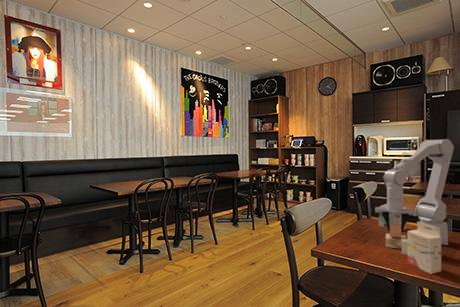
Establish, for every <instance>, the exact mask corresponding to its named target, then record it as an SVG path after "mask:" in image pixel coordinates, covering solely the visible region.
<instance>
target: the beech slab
mask: <svg viewBox="0 0 460 307" xmlns="http://www.w3.org/2000/svg"><path fill="white" fill-rule="evenodd" d="M402 238H405V239H407V238H406V235H402V234H401V238H400V237H392V236H390V233H385V247H386V248H393V249H399V250H402Z"/></svg>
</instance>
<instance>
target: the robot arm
mask: <svg viewBox="0 0 460 307" xmlns="http://www.w3.org/2000/svg"><path fill="white" fill-rule="evenodd" d="M454 148H455V146H454V145H453V143H452V141H451V140H450V139H448V138H444V139H425V140H423V141H422V142H421V143H420V144H419V147H418V148H417V149H416V151H415V152H414V153H413V154H412V155H411V156H410V157H409V158H406V157H405V158H402V159H401V160H400V162H399V163H398V164H396V165H395V166H393V168H391V169H387V171H385V173H384V175H383V176H382V178H383V181H384V182H385V186H386V205H387V207H379V206H375V208H374V210H375V211H374V212H375V213H378V214H379V212H381V213H382V215H383V217H384V219H385V222H386V224H387V228H386V229H387V231H388V232H390V224H389V213H392V214H401V234H403V233H404V231H405V230H404V226H405V224H406V222H407V223H408V220H409V218H410V216H414V217H418V219H419V222H421V223H425V224H429V225H432V226H435V227H439V228H440V236H441V245H444V246H449V230H448V229H449V227H448V223H447V221H444V220H446V217H447V210H446V209H447V205H446V204H445V203H444V202H443V200H442V195H443V191H444V188H445V185H446V184H445V183H446V180H447V175H448V173H449V167H450V164H451V160H452V157H453V153H454ZM426 157H428V159H430V160H432V162H433V164H432V169H431V174H430V176H429V180H428V186H427V189H426V193H425V196H424V197H422V198H420V199H419V200H418V203H417V204H416V206H415V209H407V208H406V209H403V207H404V184H406V182H407V179H408V177H409V175H411V173H412V172H414V171H415V170H416V169H417V167H418V166H417V164H419V163H420V162H421V161H422V160H424V159H425V158H426ZM424 228H425V229H428V230H432V229H431V228H429V227H424Z"/></svg>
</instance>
